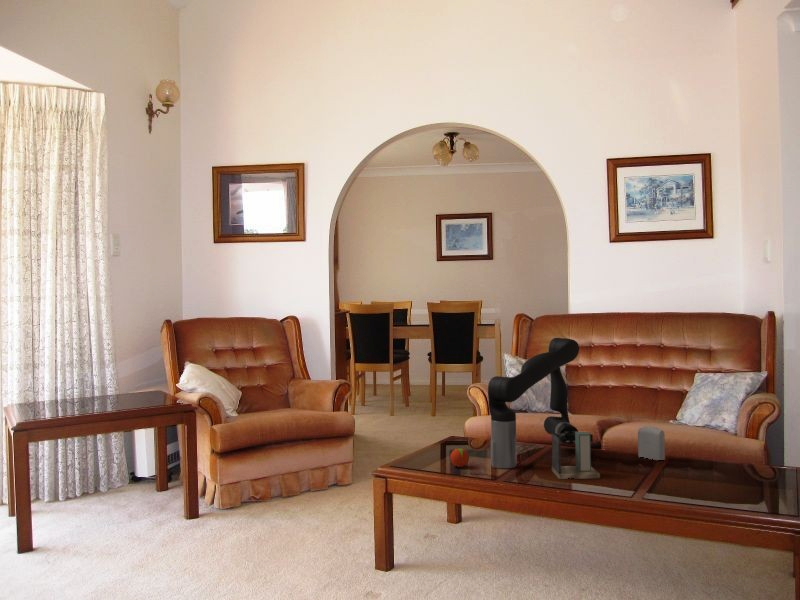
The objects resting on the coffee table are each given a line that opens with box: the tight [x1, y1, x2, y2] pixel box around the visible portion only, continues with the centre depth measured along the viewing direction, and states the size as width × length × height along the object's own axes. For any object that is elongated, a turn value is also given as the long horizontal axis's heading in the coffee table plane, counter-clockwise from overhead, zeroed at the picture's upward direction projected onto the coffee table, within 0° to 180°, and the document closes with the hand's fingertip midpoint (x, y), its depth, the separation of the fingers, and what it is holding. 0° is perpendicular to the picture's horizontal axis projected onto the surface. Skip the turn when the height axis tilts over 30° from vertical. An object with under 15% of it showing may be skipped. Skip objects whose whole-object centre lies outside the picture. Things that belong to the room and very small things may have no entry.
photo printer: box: [637, 425, 666, 461], centre depth 267 cm, size 10×4×12 cm, turn 39°
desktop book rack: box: [551, 434, 601, 480], centre depth 245 cm, size 14×12×14 cm
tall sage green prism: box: [574, 431, 592, 472], centre depth 245 cm, size 4×5×13 cm
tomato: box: [450, 447, 470, 468], centre depth 258 cm, size 8×7×7 cm
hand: (577, 441), depth 253 cm, fingers open, 8 cm apart
